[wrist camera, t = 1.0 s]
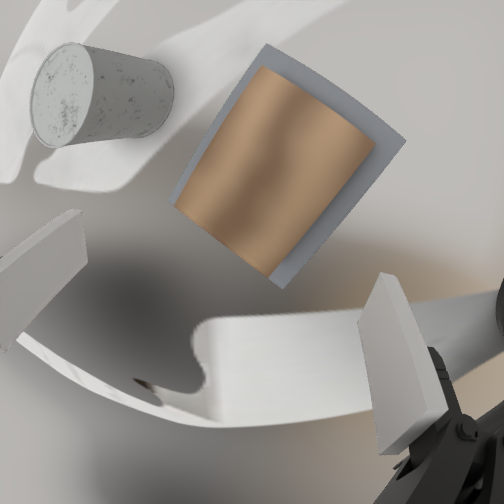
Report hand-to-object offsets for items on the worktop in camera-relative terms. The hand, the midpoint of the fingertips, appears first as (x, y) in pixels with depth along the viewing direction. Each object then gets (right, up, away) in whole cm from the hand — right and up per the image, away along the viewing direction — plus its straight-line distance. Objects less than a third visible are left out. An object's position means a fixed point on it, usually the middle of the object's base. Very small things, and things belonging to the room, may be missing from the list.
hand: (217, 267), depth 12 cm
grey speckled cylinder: (-12, +18, +18) cm, 28 cm away
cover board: (+4, +9, +16) cm, 18 cm away
